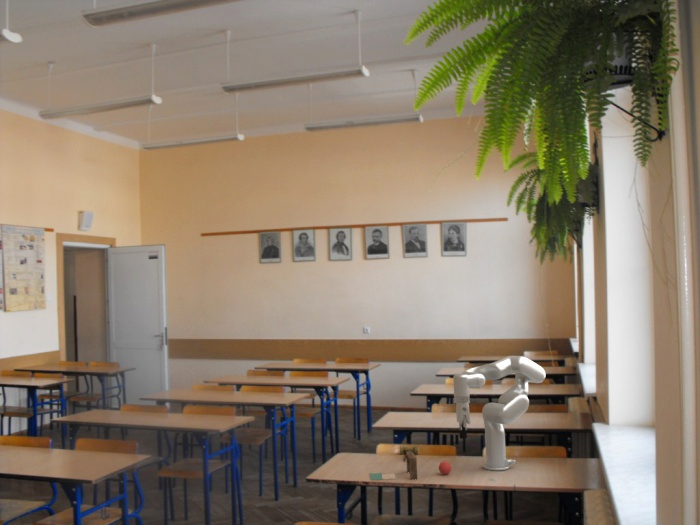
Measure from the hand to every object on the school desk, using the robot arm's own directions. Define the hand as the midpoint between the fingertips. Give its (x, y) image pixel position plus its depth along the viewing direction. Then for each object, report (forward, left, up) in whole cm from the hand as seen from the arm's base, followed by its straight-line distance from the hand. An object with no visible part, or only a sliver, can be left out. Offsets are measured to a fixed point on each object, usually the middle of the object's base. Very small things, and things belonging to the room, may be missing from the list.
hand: (463, 438), depth 315 cm
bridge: (+25, 0, -17) cm, 30 cm away
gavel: (+22, -39, -17) cm, 48 cm away
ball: (+9, 0, -14) cm, 17 cm away
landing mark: (+39, 0, -17) cm, 43 cm away
